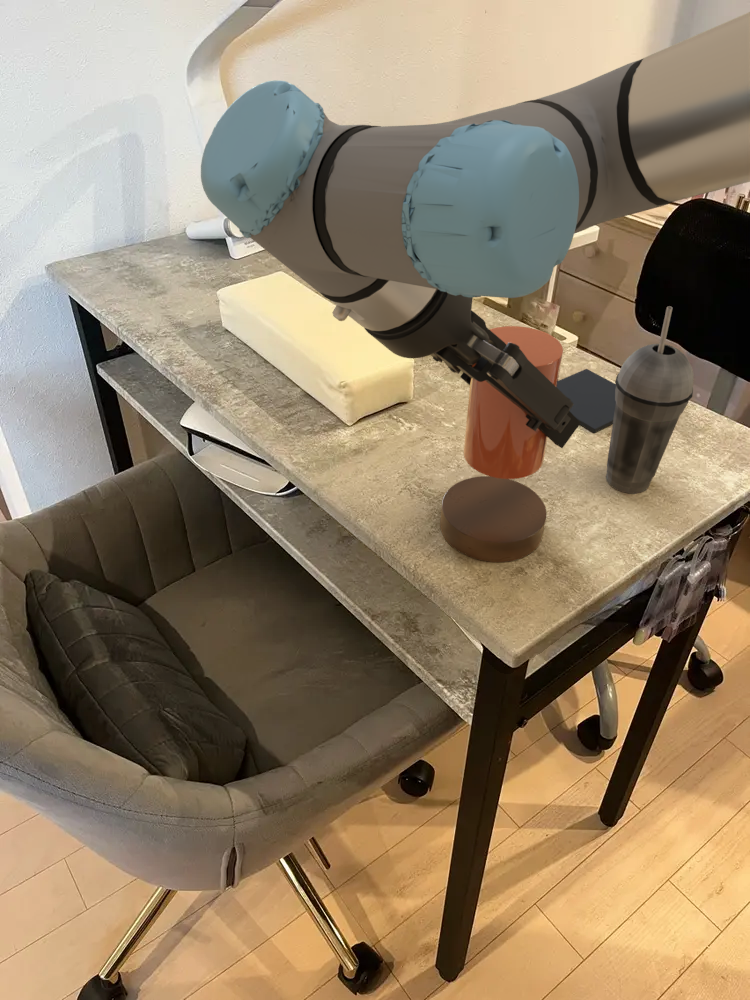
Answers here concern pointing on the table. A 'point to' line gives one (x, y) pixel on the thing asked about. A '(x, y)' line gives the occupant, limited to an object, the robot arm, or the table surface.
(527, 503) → the saucer
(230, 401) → the table surface
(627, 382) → the beverage cup
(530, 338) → the terracotta cylinder
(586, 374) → the mat
